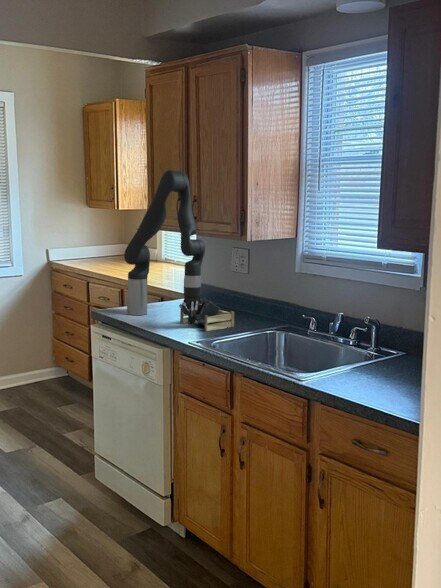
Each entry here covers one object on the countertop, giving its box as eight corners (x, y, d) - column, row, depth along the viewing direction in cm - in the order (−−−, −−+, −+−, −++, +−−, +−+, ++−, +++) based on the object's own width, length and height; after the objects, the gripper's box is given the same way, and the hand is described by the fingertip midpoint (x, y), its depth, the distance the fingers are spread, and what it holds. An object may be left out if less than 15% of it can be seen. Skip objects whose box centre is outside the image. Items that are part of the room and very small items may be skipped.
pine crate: (179, 323, 289) (180, 308, 287) (207, 319, 299) (207, 305, 298) (206, 331, 275) (206, 315, 274) (233, 326, 286) (234, 311, 284)
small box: (209, 328, 281) (221, 308, 282) (197, 321, 279) (209, 301, 279) (201, 323, 291) (213, 303, 291) (189, 316, 288) (201, 296, 289)
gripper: (198, 283, 285) (197, 321, 288) (175, 285, 276) (174, 324, 279) (209, 285, 280) (208, 324, 282) (185, 287, 271) (185, 327, 274)
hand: (191, 324), depth 281 cm, fingers closed
